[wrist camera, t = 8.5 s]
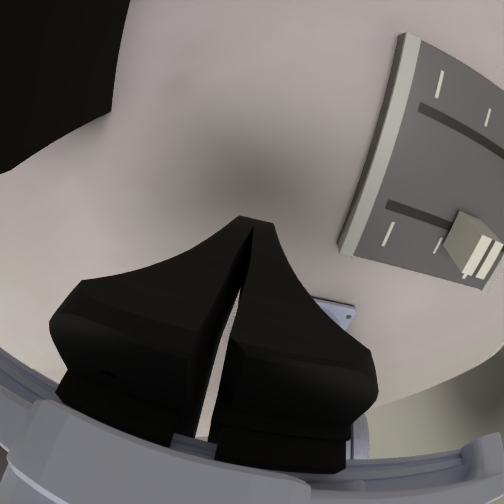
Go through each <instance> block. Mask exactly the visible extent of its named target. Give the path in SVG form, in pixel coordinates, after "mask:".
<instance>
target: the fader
mask: <svg viewBox="0 0 504 504" xmlns="http://www.w3.org/2000/svg"><path fill="white" fill-rule="evenodd" d="M503 245H504V244H503V243H502V242H501V241H500V240H499V239H498V238H497V236H496V235H495V234H494V233H493V232H492V231H491V230H490V229H489V228H488V227H487V226H486V225H485V224H484V223H483V222H482V221H481V220H479V219H477V218H475V217H473V216H471V215H469V214H466V213H464V212H462V211H459V213H458V215H457V217H456V219H455V222H454V224H453V226H452V228H451V230H450V232H449V234H448V236H447V238H446V240H445V242H444V244H443V246H444V247H445V249H446V250H447V252H448V253H449V255H450V256H451V258H452V259H453V261H454V262H455V264H456V265H457V267H458V268H459V270H460V271H461V273H464V274H467V275H470V276H472V277H477V278H480V279H483V280H484V278H485V276H486V275H487V273H488V271H489V270H490V268H491V266H492V265H493V263H494V261H495V259H496V258H497V256H498V254H499V252H500V250H501V249H502V247H503Z"/></svg>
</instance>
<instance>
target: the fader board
mask: <svg viewBox="0 0 504 504" xmlns="http://www.w3.org/2000/svg"><path fill="white" fill-rule="evenodd" d="M459 211H462V212H464V213H466V214H469V215H471V216H473V217H475V218H477V219H479V220H481V221H482V222H483V223H484V224H485V225H486V226H487V227H488V228H489V229H490V230H491V231H492V232H493V233H494V234H495V235H496V236H497V238H498V239H499V240H500V241H501V242H502V243H503V244H504V91H503V90H502V89H501V88H499V87H498V86H497V85H495V84H494V83H492V82H491V81H490V80H488V79H487V78H485V77H484V76H482V75H481V74H479V73H478V72H476V71H475V70H473V69H472V68H470V67H469V66H467V65H466V64H464V63H462V62H461V61H459V60H457V59H456V58H454V57H452V56H450V55H449V54H447V53H445V52H443V51H442V50H440V49H438V48H436V47H434V46H432V45H430V44H428V43H426V42H424V41H422V40H421V38H419V37H417V36H415V35H412V34H410V33H408V32H406V33H403V34H401V35H399V37H398V42H397V47H396V52H395V56H394V61H393V65H392V70H391V74H390V78H389V82H388V86H387V90H386V94H385V98H384V102H383V105H382V109H381V113H380V116H379V120H378V123H377V127H376V130H375V134H374V137H373V140H372V144H371V147H370V150H369V154H368V157H367V160H366V163H365V166H364V169H363V172H362V175H361V178H360V181H359V184H358V187H357V190H356V193H355V196H354V199H353V202H352V205H351V207H350V210H349V213H348V216H347V218H346V221H345V224H344V227H343V229H342V232H341V235H340V237H339V240H338V242H337V245H338V250H339V254H340V255H345V256H349V257H352V256H357V257H361V258H365V259H369V260H373V261H377V262H381V263H385V264H389V265H392V266H396V267H400V268H404V269H408V270H412V271H415V272H419V273H423V274H427V275H430V276H434V277H438V278H442V279H445V280H449V281H453V282H456V283H460V284H464V285H467V286H471V287H474V288H478V289H480V290H481V291H482V292H486V293H488V292H489V290H490V288H491V287H492V285H493V284H494V282H495V281H496V279H497V277H498V276H499V274H500V273H501V271H502V269H503V268H504V245H503V247H502V249H501V250H500V252H499V254H498V256H497V258H496V259H495V261H494V263H493V265H492V266H491V268H490V270H489V271H488V273H487V275H486V276H485V278H484V280H483V279H480V278H477V277H472V276H470V275H467V274H464V273H461V271H460V270H459V268H458V267H457V265H456V264H455V262H454V261H453V259H452V258H451V256H450V255H449V253H448V252H447V250H446V249H445V247H444V246H443V244H444V242H445V240H446V238H447V236H448V234H449V232H450V230H451V228H452V226H453V224H454V222H455V219H456V217H457V215H458V213H459Z"/></svg>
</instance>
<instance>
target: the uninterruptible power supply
mask: <svg viewBox="0 0 504 504" xmlns="http://www.w3.org/2000/svg"><path fill="white" fill-rule="evenodd" d="M129 4H130V0H0V174H2V173H5V172H7V171H10V170H12V169H13V168H15V167H16V166H17V165H19V164H20V163H22V162H23V161H25V160H26V159H28V158H29V157H31V156H32V155H34V154H35V153H37V152H38V151H40V150H41V149H43V148H44V147H46V146H48V145H49V144H51V143H53V142H54V141H56V140H58V139H59V138H61V137H63V136H65V135H66V134H68V133H70V132H72V131H74V130H75V129H77V128H79V127H81V126H83V125H85V124H87V123H89V122H91V121H92V120H94V119H96V118H98V117H101V116H103V115H105V114H107V113H109V112H111V107H112V97H113V89H114V81H115V73H116V67H117V60H118V54H119V49H120V43H121V38H122V33H123V29H124V24H125V20H126V15H127V11H128V7H129Z"/></svg>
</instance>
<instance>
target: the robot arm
mask: <svg viewBox="0 0 504 504" xmlns="http://www.w3.org/2000/svg"><path fill="white" fill-rule="evenodd" d="M240 287H241V288H240ZM239 290H240V295H239V302H238V309H237V313H236V316H235V320H234V323H233V326H232V330H231V333H230V336H229V341H228V346H227V351H226V356H225V361H224V365H223V370H222V375H221V380H220V385H219V390H218V395H217V399H216V403H215V407H214V411H213V415H212V419H211V426H210V431H209V436H208V442H206V441H202V440H198V439H195V435H196V431H197V427H198V423H199V419H200V415H201V411H202V407H203V403H204V399H205V395H206V391H207V388H208V384H209V380H210V376H211V372H212V369H213V365H214V361H215V357H216V354H217V350H218V346H219V343H220V340H221V337H222V334H223V331H224V329H225V326H226V323H227V321H228V318H229V316H230V313H231V311H232V308H233V305H234V303H235V300H236V298H237V295H238V293H239ZM355 314H356V308H355V307H353V306H349V305H344V304H339V303H334V302H329V301H324V300H320V299H315V298H312V297H311V296H310V295H309V293H308V292H307V291H306V290H305V288H304V287H303V285H302V284H301V282H300V281H299V280H298V278H297V276H296V275H295V273H294V271H293V270H292V268H291V266H290V264H289V262H288V260H287V258H286V256H285V254H284V252H283V249H282V247H281V245H280V242H279V239H278V236H277V233H276V230H275V226H274V224H273V223H270V222H265V221H261V220H257V219H252V218H248V217H243V216H238V217H236V218H235V219H234V220H232V221H231V222H230V223H229V224H227V225H226V226H225V227H224V228H222V229H221V230H220V231H218V232H217V233H215V234H214V235H213V236H211V237H210V238H208V239H207V240H205V241H203V242H202V243H200V244H198V245H197V246H195V247H193V248H192V249H190V250H188V251H186V252H184V253H182V254H180V255H177V256H175V257H173V258H170V259H168V260H165V261H162V262H159V263H157V264H154V265H151V266H148V267H145V268H142V269H138V270H135V271H131V272H127V273H122V274H118V275H113V276H107V277H101V278H95V279H89V280H82V281H81V282H80V283H79V284H78V285H77V286H76V287H75V288H74V289H73V290H72V292H71V293H70V294H69V295H68V297H67V298H66V299H65V300H64V302H63V303H62V304H61V305H60V307H59V308H58V309H57V311H56V312H55V313H54V315H53V316H52V318H51V319H50V321H49V330H50V334H51V337H52V340H53V342H54V344H55V346H56V348H57V350H58V352H59V354H60V356H61V358H62V360H63V361H64V363H65V365H66V367H67V369H68V370H67V372H66V373H65V375H64V377H63V379H62V380H61V382H60V384H57V383H55V382H53V381H51V380H50V379H48V378H46V377H44V376H43V375H41V374H39V373H38V372H36V371H34V370H33V369H31V368H30V367H28V366H27V365H25V364H23V363H22V362H20V361H19V360H17V359H16V358H14V357H13V356H11V355H10V354H9V353H7V352H6V351H4V350H3V349H1V348H0V445H1V446H2V447H3V448H4V449H5V450H6V451H7V452H8V455H7V460H8V462H9V464H8V466H7V468H6V471H5V473H4V476H3V478H2V480H1V483H0V504H489V503H491V502H492V501H495V500H496V499H498V498H500V497H502V496H504V451H503V446H502V441H501V437H500V433H498V432H497V433H493V434H489V435H485V436H481V437H478V438H476V439H474V440H472V441H470V442H469V443H467V444H466V445H464V446H463V447H462V448H461V449H457V450H452V451H446V452H440V453H434V454H427V455H419V456H411V457H400V458H387V459H369V431H368V423H367V418H366V415H365V414H364V413H365V412H366V411H367V410H368V409H369V408H370V407H371V406H372V405H373V403H374V402H375V401H376V399H377V396H378V392H379V391H378V384H377V376H376V370H375V366H374V362H373V359H372V355H371V351H370V350H369V349H367V348H366V347H365V346H364V345H362V344H361V343H360V342H358V341H357V340H356V339H355V338H353V337H352V336H351V335H349V334H348V333H347V332H346V330H347V328H348V326H349V325H350V323H351V321H352V319H353V318H354V316H355ZM347 315H349V316H347Z"/></svg>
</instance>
